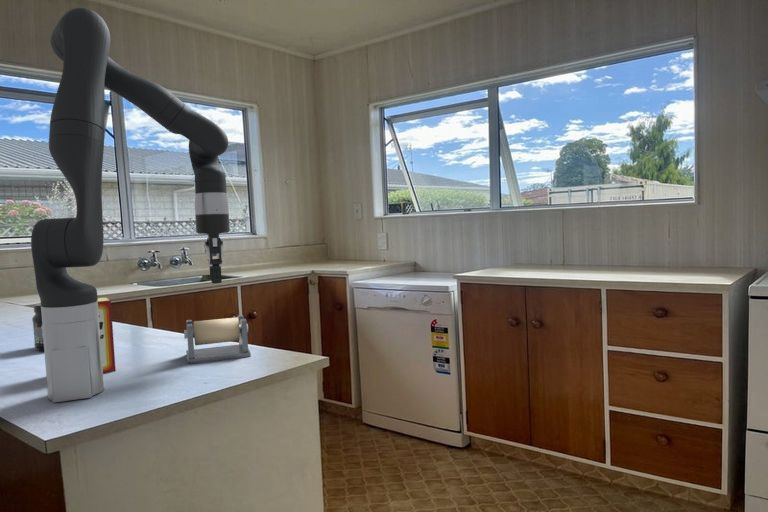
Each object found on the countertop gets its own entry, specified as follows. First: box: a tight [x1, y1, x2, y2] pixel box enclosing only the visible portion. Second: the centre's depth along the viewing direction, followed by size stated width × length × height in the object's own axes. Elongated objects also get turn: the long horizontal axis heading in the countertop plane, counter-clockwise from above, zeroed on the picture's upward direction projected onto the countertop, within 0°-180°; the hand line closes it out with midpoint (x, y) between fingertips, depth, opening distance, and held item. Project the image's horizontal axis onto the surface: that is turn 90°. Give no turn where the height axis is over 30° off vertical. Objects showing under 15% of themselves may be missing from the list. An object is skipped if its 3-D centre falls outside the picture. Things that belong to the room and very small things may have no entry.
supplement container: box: [31, 302, 44, 352], centre depth 144 cm, size 10×10×12 cm
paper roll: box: [183, 316, 249, 346], centre depth 127 cm, size 14×6×6 cm
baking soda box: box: [98, 296, 117, 374], centre depth 117 cm, size 10×6×16 cm
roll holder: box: [186, 314, 252, 365], centre depth 128 cm, size 10×14×8 cm
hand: (215, 281), depth 127 cm, fingers open, 8 cm apart
